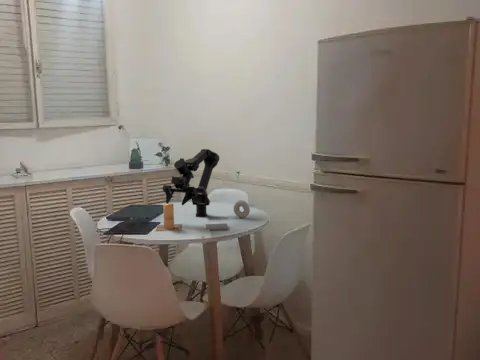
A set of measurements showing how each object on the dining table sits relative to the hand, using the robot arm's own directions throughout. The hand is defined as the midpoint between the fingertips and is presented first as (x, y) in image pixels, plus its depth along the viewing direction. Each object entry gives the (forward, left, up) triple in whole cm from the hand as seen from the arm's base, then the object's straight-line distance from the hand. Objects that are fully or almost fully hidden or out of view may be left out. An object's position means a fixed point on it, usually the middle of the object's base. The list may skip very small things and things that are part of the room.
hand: (174, 204), depth 254 cm
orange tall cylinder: (+5, -3, -11) cm, 12 cm away
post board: (+5, -3, -12) cm, 13 cm away
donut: (-15, +36, -12) cm, 41 cm away
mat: (+6, +21, -12) cm, 25 cm away
